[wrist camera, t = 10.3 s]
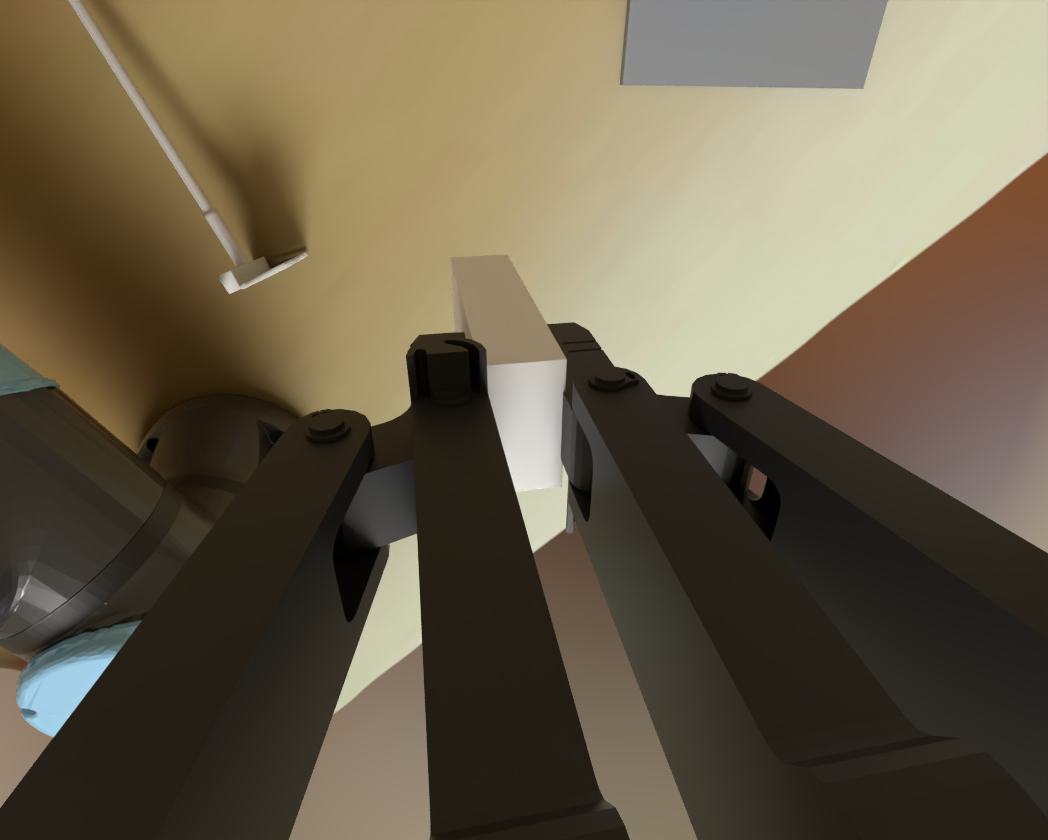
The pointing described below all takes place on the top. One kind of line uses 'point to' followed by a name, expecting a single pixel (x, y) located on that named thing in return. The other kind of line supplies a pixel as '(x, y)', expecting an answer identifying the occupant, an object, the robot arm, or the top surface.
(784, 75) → the mat
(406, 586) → the top surface
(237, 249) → the brush
